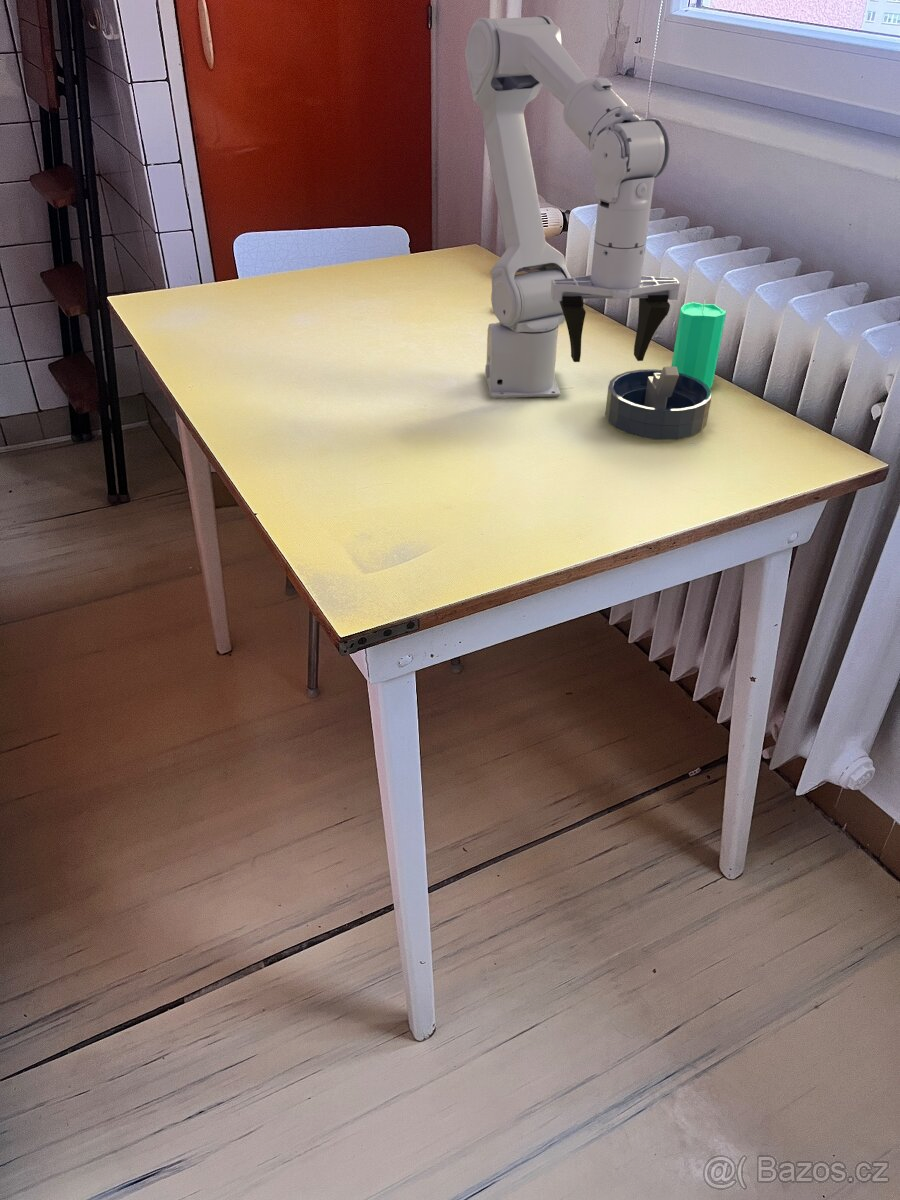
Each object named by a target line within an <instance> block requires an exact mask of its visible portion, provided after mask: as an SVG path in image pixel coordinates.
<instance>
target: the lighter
mask: <svg viewBox="0 0 900 1200" xmlns="http://www.w3.org/2000/svg"><path fill="white" fill-rule="evenodd" d="M661 370H662V372H661V373H654V375H653V376H649V377H648V381H647V388H646V395H645V402H644V406H645V407H650V408H659V409H666V403H667V397H671V396H672V393H673V390H674V388H675V385H676V382H677V379H678V377H679V374H678V370H677V367H671V366H663V367H662V368H661Z"/></svg>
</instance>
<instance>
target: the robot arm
mask: <svg viewBox="0 0 900 1200" xmlns="http://www.w3.org/2000/svg"><path fill="white" fill-rule="evenodd" d="M464 56H465V57H464V59H465V64H466V70H467V74H468V81H469V86H470V90H471V95H472V101H473V103H474V104H476V105H477V106H478V107H479V111H480V117H481V122H482V128H483V134H484V138H485V145H486V150H487V154H488V161H489V166H490V171H491V177H492V182H493V188H494V194H495V198H496V199H495V200H496V203H497V210H498V214H499V215H498V216H499V220H500V226H501V232H502V237H503V243H504V248H505V252H503V254H502V255H501V256H500V258H499V259H498V260H497V261H496V262H495V264H494V265H493V266H492V268H491V270H490V278H491V296H490V300H491V308H492V311H493V314H494V315H495V317H496V319H497V320H498V322H493V323H489V324H488V326H487V337H486V340H487V341H486V364H485V369H484V371H485V372H484V373H485V379H486V383H487V387H488V392H489V395H490V397H491V398H495V399H496V398H539V397H540V398H541V397H560V396H561V390H560V388H559V386H558V383H557V381H556V378H555V373H556V362H557V361H556V360H557V347H558V335H559V325H562V324H564V320H565V323H566V328H567V332H568V336H569V344H570V357H571V359H572V361H573V363H581V357H582V337H583V336H582V335H583V329H584V323H585V318H586V314H587V312H586V309H585V307H584V304H585V303H584V302H583V300H599V299H600V300H608V299H609V300H612V299H613V300H615V299H620V300H621V299H638V316H637V317H638V318H637V326H636V327H637V328H636V334H635V339H634V346H633V356H634V357H635V359H636V361H637V362H643V361H644V359H645V355H646V352H647V350H648V347H649V346H650V343H651V341H652V339H653V337H654V335H655V333H656V331H657V330H658V328H659V326H660V325H661V324H662V322H663V321H664V320H665V318H666V316H668V315H669V312H670V309H671V304H670V303H669V300H670V301H677V300H678V299H679V293H680V287H681V283H680V281H679V280H678V279H677V278H676V277H660V276H649V275H643V270H644V262H645V254H646V246H647V238H648V231H649V224H650V217H651V216H650V215H651V207H652V200H653V192H654V184H655V179H656V178H658V177H659V176H661V175H662V174H663V173H664V172H665V170H666V168H667V166H668V163H669V160H670V155H671V142H670V137H669V133H668V131H667V129H666V128H665V125H664V124H663V123H662V121H661V120H660V119H659V118H656V117H650V118H649V117H648V118H644V117H643V116H639V115H638V114H636V113H635V110H634V109H633V108H632V106H631V105H627V103H626V102H625V100H623V99H622V98H621V97H620V96H619V95H618V94H617V93H616V92H615V91H614V90H613V89H612V86H613V83H612V82H611V81H610V80H609V79H608V78H607V77H603V78H601V77H589V78H587V76H586V75H585V74H584V73H583V71H582V70H581V68H580V67H579V66H578V65H577V63H576V62H575V61H574V59H573V57H571V55H570V53H568V51H567V50H566V49H565V47H564V46H563V45H562V32H561V27H559V26H558V25H556V24H555V23H554V21H553V20H552V19H551V17H550V16H548V15H546V14H542V15H541V14H540V15H537V16H526V17H502V18H488V17H479V18H477V19H476V20H475V21H474V22H473V23H472V25H471V28H470V30H469V33H468V36H467V41H466V46H465V49H464ZM543 87H544V88H545V89H546V91H548V92H549V93H550V94H551V95H552V96H553V97H554V98H555V99H557V101H559V102H560V103H561V104H562V105H563V110H562V114H563V115H562V116H563V120H564V121H563V122H564V123H565V124H566V125H567V127H568V128H569V129H570V130H571V131H572V132H573V134H574V135H575V136H576V137H577V138H578V139H579V141H580V142H581V143H582V144H583V145H584V146H585V147H586V148H587V149H588V151H589V152H590V163H591V168H592V171H593V174H594V192H595V197H596V198H597V200H598V201H597V210H596V221H595V229H594V230H595V232H594V239H593V240H594V242H593V251H592V260H591V261H592V262H591V270H590V271H591V272H590V274H589V275H582V276H574V277H571V275H570V273H569V270H568V269H567V263H566V259H565V256H564V254H563V253H562V252H560V251H559V250H557V249H556V248H554V247H553V246H552V245H550V244H549V243H548V242H547V241H546V240H547V239H546V236H545V230H544V223H543V218H542V212H541V207H540V201H539V196H538V190H537V184H536V178H535V173H534V167H533V161H532V154H531V149H530V143H529V138H528V132H527V126H526V121H525V115H524V113H525V109H526V106H527V105H528V104H529V103H530V102H532V101H534V100H535V99H536V98H537V96H539V95H538V94H539V93H540V92H541V90H542V88H543ZM532 270H534V271H532ZM527 271H529V272H527ZM530 271H531V272H530ZM521 272H524V273H521ZM516 273H519V274H516Z"/></svg>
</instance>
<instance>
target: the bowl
mask: <svg viewBox="0 0 900 1200" xmlns="http://www.w3.org/2000/svg"><path fill="white" fill-rule="evenodd" d="M661 372H662V369H657V368H656V369H655V368H653V369H636V370H630V371H625V372H622V373H620V374H618V375H616V376H614V377H613V378H612V379H610V380H609V382H608V383H609V384H608V387H607V395H606V403H605V412H604V416H605V417H606V418H605V419H606V420H607V422H608V423H609V424H610V425H611V426H613V427H614V428H615V429H617V430H619V431H621V432H622V433H625V434H627V435H631V436H634V437H637V438H642V439H646V440H655V441H675V440H681V439H682V440H683V439H687V438H691V437H693V436H695V435H698V434H700V433H701V432H702V431H703V430H704V429H705V428H706V427H707V423H708V418H709V413H710V407H711V402H712V395H713V393H712V390H711V388H710V389H709V387H708V386H707V385H706V384H705V383H703V382H702V381H700V380H698V379H696V378H694V377H691V376H688V375H686V374H682V373H678V374H679V377H678V379H677V382H676V385H675V388H674V390H673V393H672V396H671V397H667V403H666V409H659V408H650V407H645V406H644V402H645V395H646V388H647V381H648V377H649V376H653V375H654V373H661Z"/></svg>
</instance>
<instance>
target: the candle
mask: <svg viewBox="0 0 900 1200" xmlns="http://www.w3.org/2000/svg"><path fill="white" fill-rule="evenodd" d="M703 300H704V301H703V303H700V302H694V301H691V302H690V301H689V302H688V303H685V304H682V306H681V307H680V310H679V316H678V322H677V328H676V335H675V341H674V346H673V347H674V348H673V354H672V360H671V365H670V367H677V370H678V373H682V374H686V375H688V376H691V377H694V378H696V379H698V380H700V381H702V382H703V383H705V384H706V385H707V386H708V387H709V389H710V390H711V388H712V387H713V386H714V385H713V384H714V380H715V374H716V370H717V364H718V359H719V353H720V348H721V342H722V337H723V332H724V326H725V321H726V315H727V311H726V310H724V309H722V308H721V307H719V306H718V305H716V304H715V303H706V300H707V297H704V299H703Z"/></svg>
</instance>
